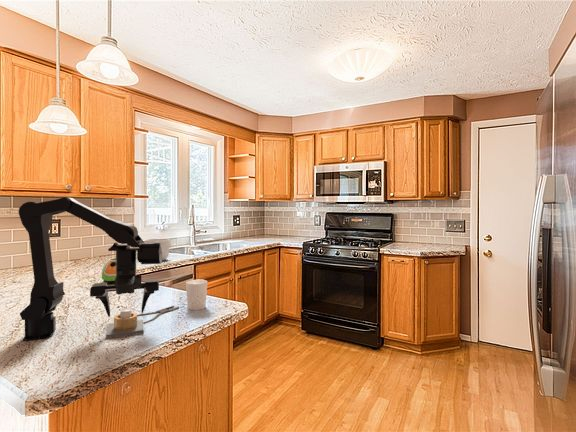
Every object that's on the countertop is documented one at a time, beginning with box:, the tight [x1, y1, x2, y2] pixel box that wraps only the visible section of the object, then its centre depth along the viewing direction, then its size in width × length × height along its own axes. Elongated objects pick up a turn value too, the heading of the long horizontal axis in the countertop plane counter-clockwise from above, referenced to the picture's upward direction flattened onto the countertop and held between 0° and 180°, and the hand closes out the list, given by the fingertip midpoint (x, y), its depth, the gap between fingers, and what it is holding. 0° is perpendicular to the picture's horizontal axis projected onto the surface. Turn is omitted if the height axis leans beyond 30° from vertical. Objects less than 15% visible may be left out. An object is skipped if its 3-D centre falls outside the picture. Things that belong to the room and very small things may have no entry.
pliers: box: [137, 305, 180, 325], centre depth 115 cm, size 10×1×20 cm
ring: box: [113, 312, 138, 331], centre depth 100 cm, size 6×6×4 cm
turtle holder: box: [101, 257, 116, 283], centre depth 167 cm, size 12×18×12 cm
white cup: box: [185, 279, 208, 311], centre depth 124 cm, size 8×8×10 cm
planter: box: [144, 238, 171, 261], centre depth 233 cm, size 17×17×15 cm
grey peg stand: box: [105, 308, 145, 339], centre depth 100 cm, size 10×10×6 cm
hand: (126, 314), depth 100 cm, fingers open, 9 cm apart
